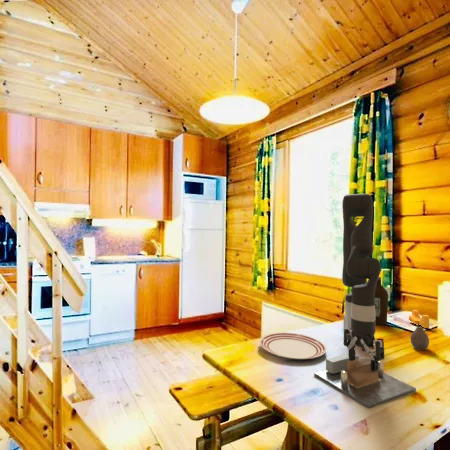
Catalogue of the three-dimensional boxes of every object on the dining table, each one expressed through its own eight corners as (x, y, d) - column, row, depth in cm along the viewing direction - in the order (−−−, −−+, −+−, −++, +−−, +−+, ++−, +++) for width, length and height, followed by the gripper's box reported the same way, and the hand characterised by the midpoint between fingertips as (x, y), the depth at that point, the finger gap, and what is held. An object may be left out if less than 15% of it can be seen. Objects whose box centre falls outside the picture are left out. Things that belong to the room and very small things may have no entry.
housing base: (314, 377, 108) (314, 359, 108) (358, 364, 118) (358, 349, 118) (368, 410, 88) (368, 389, 88) (416, 392, 98) (416, 373, 98)
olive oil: (373, 318, 179) (373, 275, 179) (391, 323, 170) (392, 277, 170) (363, 321, 173) (363, 276, 173) (381, 326, 164) (382, 279, 164)
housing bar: (326, 370, 109) (326, 358, 109) (352, 363, 115) (352, 352, 115) (332, 373, 107) (332, 362, 107) (358, 366, 112) (358, 355, 112)
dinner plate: (337, 350, 132) (337, 342, 132) (305, 372, 112) (305, 363, 112) (282, 335, 151) (282, 328, 151) (246, 351, 131) (246, 343, 131)
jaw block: (346, 380, 103) (347, 362, 103) (368, 374, 107) (368, 356, 107) (356, 385, 99) (356, 367, 99) (378, 379, 104) (378, 361, 104)
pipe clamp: (408, 321, 174) (408, 309, 174) (416, 321, 174) (416, 310, 174) (420, 328, 162) (420, 316, 162) (429, 328, 162) (429, 316, 162)
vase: (406, 345, 138) (406, 325, 138) (421, 345, 139) (421, 325, 139) (417, 351, 131) (417, 330, 131) (433, 351, 132) (433, 330, 132)
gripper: (338, 313, 108) (338, 359, 108) (374, 325, 95) (373, 377, 95) (353, 310, 111) (353, 355, 111) (390, 321, 99) (389, 372, 99)
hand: (362, 365), depth 103 cm, fingers open, 8 cm apart
